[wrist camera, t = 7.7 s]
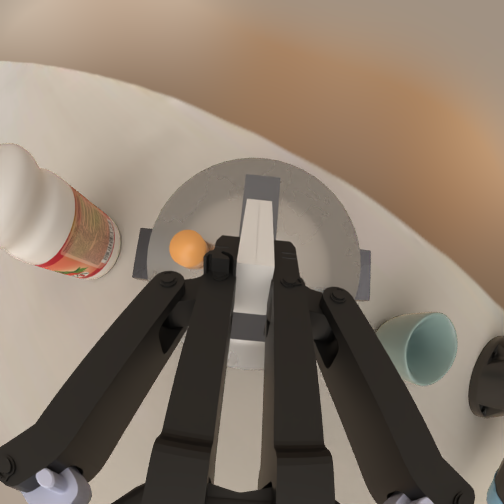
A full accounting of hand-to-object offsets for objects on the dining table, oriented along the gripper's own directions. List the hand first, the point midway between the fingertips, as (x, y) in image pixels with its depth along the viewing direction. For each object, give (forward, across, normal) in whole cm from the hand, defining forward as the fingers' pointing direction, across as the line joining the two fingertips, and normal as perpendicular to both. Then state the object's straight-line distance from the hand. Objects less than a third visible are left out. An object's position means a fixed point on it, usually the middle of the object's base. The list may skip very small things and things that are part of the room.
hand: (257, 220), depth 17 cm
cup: (+6, +19, -18) cm, 27 cm away
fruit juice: (+13, -22, -12) cm, 28 cm away
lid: (+2, 0, -4) cm, 5 cm away
